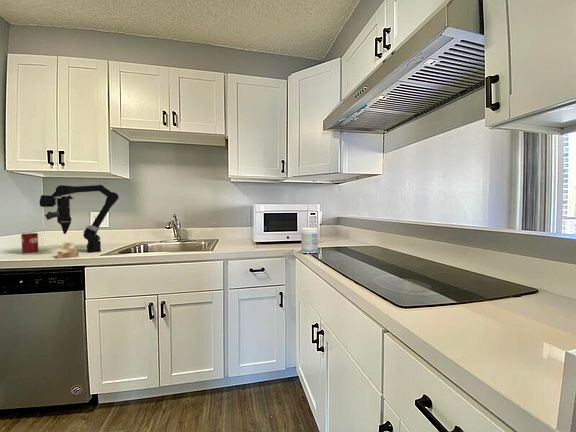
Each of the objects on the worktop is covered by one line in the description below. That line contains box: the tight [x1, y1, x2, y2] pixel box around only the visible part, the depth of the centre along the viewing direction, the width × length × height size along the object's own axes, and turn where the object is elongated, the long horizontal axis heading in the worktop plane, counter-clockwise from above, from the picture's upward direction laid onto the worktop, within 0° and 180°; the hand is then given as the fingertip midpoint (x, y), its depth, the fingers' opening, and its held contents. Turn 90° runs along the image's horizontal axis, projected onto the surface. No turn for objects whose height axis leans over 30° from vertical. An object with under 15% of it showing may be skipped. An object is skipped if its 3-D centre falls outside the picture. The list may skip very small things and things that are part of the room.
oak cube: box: [61, 241, 75, 253], centre depth 154 cm, size 5×5×5 cm
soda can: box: [20, 232, 40, 255], centre depth 166 cm, size 7×7×12 cm
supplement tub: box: [300, 227, 319, 254], centre depth 162 cm, size 10×10×15 cm
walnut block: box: [57, 250, 80, 260], centre depth 154 cm, size 9×9×3 cm
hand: (64, 233), depth 164 cm, fingers open, 9 cm apart
